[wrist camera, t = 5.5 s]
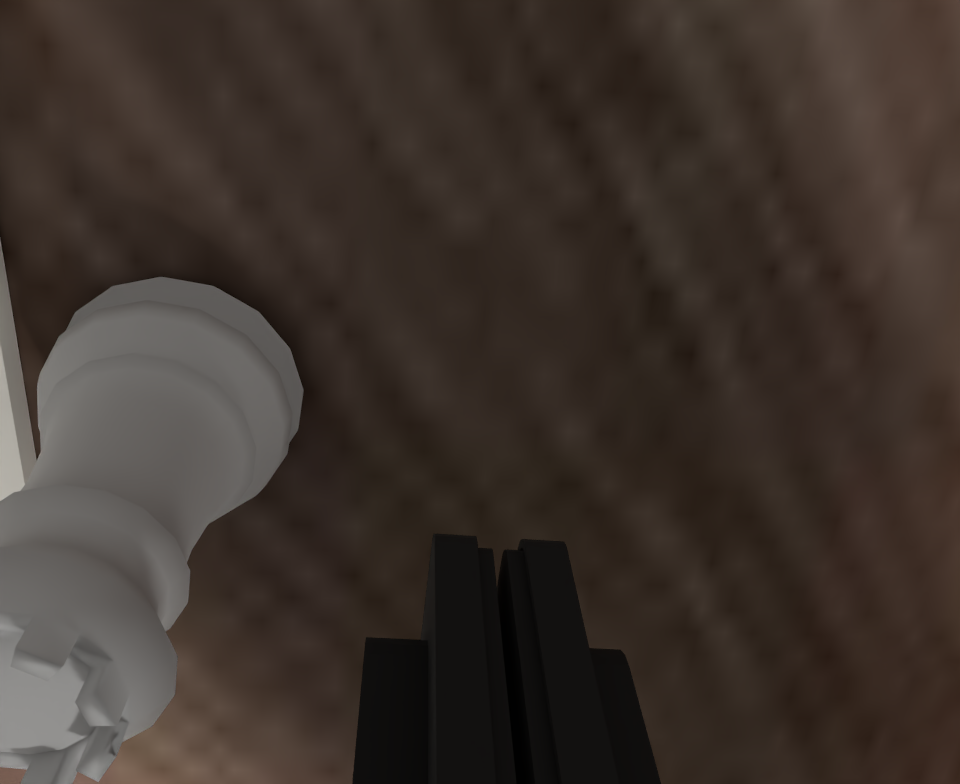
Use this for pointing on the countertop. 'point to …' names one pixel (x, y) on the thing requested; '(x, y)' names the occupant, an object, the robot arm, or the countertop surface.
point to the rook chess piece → (127, 510)
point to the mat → (12, 403)
